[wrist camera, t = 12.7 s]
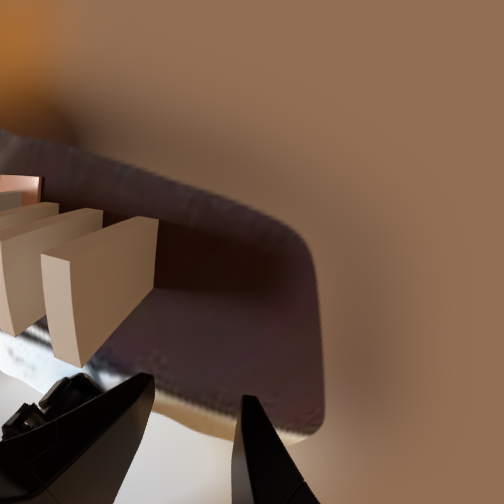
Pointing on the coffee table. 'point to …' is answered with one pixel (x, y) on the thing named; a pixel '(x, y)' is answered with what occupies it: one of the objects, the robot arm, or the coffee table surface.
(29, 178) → the tile
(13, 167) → the coffee table surface
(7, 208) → the domino
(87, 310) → the domino
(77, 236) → the domino
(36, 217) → the domino
